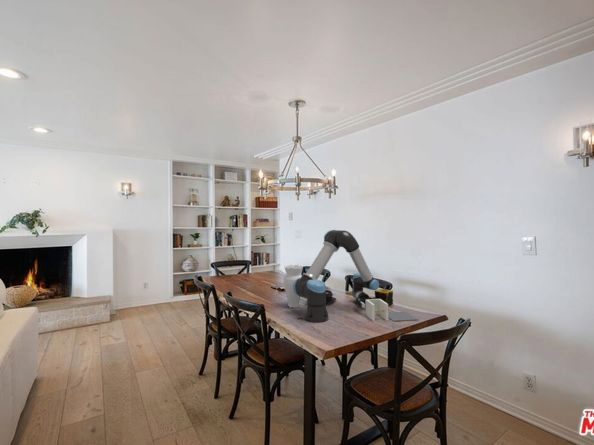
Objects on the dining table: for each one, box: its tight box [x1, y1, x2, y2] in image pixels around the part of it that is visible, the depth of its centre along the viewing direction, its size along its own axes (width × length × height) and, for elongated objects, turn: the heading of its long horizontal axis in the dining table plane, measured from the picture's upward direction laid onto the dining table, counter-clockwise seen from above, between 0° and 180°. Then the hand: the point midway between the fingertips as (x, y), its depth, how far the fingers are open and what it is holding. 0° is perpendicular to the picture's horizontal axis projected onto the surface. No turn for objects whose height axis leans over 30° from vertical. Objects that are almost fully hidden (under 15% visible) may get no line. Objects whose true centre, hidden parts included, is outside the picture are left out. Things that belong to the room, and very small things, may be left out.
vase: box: [283, 264, 304, 309], centre depth 215 cm, size 15×15×29 cm
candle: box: [374, 288, 394, 307], centre depth 219 cm, size 10×10×10 cm
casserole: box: [326, 289, 337, 305], centre depth 224 cm, size 25×19×8 cm
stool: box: [364, 299, 389, 322], centre depth 189 cm, size 10×12×10 cm
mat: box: [388, 311, 419, 323], centre depth 190 cm, size 16×16×1 cm
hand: (374, 305), depth 195 cm, fingers open, 13 cm apart
